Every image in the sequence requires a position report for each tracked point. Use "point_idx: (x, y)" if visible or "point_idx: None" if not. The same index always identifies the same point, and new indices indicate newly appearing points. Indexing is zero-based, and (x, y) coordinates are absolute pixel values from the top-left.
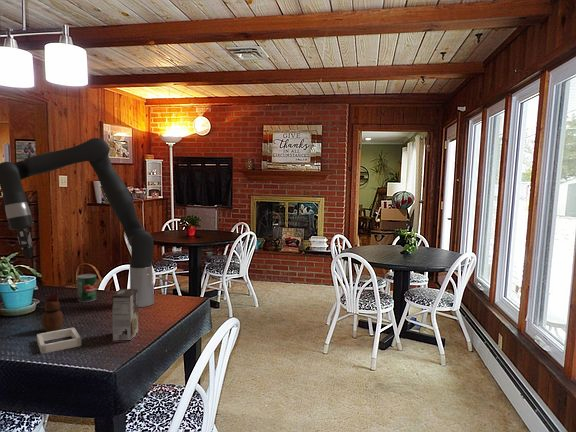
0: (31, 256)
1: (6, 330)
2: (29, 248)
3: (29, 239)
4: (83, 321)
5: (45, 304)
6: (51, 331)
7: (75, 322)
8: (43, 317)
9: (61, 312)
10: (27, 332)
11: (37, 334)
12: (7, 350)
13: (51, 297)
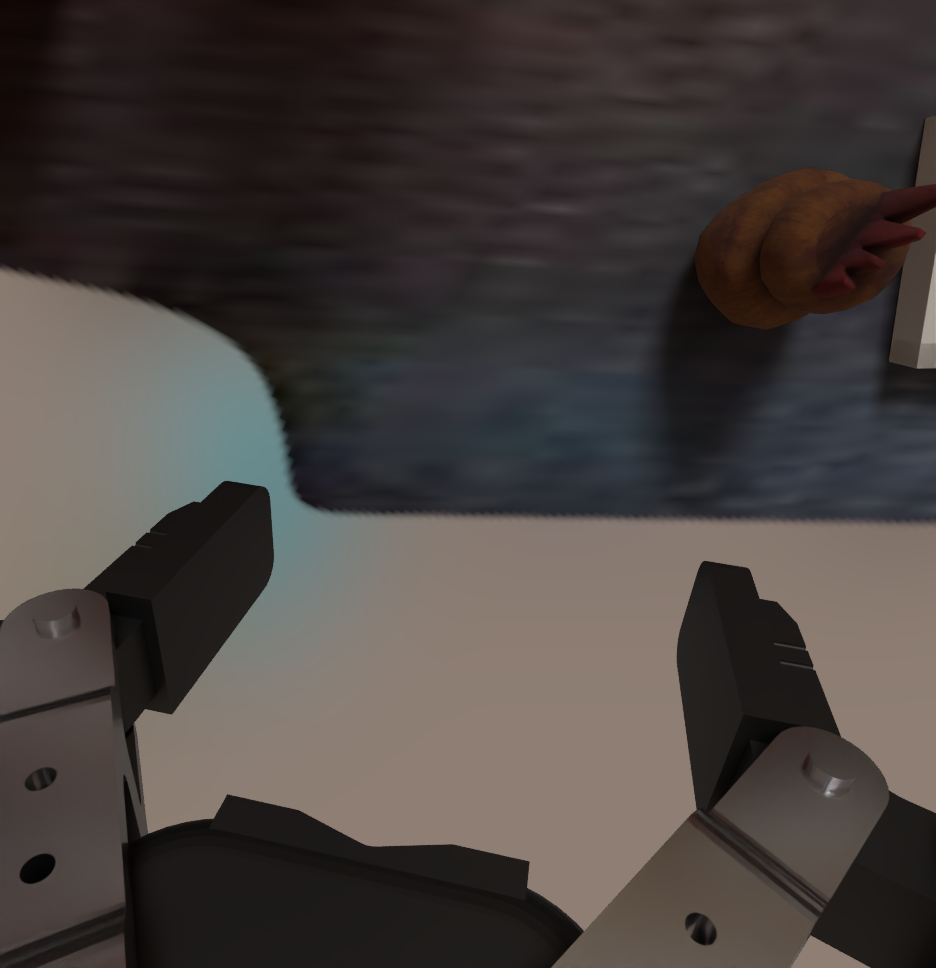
0: (750, 580)
1: (554, 508)
2: (793, 724)
3: (788, 961)
4: (664, 6)
5: (848, 308)
6: (933, 275)
7: (651, 74)
8: (795, 319)
9: (830, 176)
10: (672, 403)
11: (929, 365)
12: (925, 510)
13: (879, 251)
